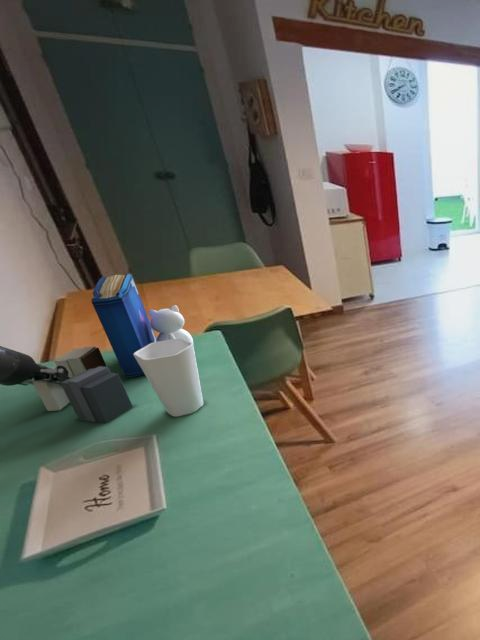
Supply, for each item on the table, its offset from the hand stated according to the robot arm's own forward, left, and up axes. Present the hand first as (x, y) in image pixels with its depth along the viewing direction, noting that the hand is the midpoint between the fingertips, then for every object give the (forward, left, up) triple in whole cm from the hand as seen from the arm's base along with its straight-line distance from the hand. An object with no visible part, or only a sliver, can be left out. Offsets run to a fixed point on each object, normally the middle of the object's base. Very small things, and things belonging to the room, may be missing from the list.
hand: (61, 382), depth 106 cm
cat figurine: (+18, +21, -5) cm, 28 cm away
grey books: (+12, -10, -5) cm, 16 cm away
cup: (+30, -13, -5) cm, 33 cm away
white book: (0, -2, -5) cm, 5 cm away
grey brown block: (+1, +8, -5) cm, 9 cm away
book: (+10, +17, -5) cm, 20 cm away
